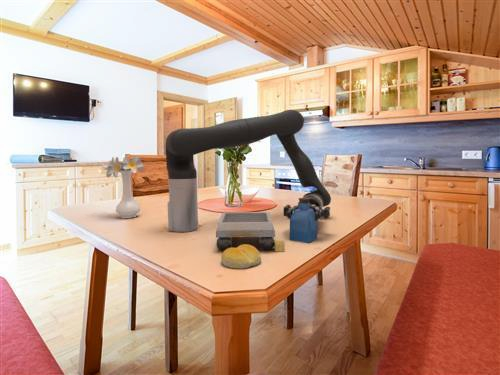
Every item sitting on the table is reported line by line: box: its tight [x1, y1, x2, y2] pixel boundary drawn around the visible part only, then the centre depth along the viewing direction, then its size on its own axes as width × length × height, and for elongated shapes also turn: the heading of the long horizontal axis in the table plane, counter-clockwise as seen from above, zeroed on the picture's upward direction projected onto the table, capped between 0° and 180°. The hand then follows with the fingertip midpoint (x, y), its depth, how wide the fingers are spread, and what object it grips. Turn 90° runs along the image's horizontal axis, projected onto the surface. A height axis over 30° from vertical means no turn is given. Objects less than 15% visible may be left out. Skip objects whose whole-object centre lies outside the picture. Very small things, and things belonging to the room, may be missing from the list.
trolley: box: [215, 211, 286, 253], centre depth 80 cm, size 18×15×8 cm
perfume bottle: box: [289, 197, 319, 244], centre depth 84 cm, size 6×6×12 cm
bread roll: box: [220, 243, 262, 270], centre depth 66 cm, size 8×9×4 cm
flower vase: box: [101, 155, 147, 219], centre depth 116 cm, size 13×18×25 cm
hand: (302, 216), depth 82 cm, fingers closed on perfume bottle, 7 cm apart
